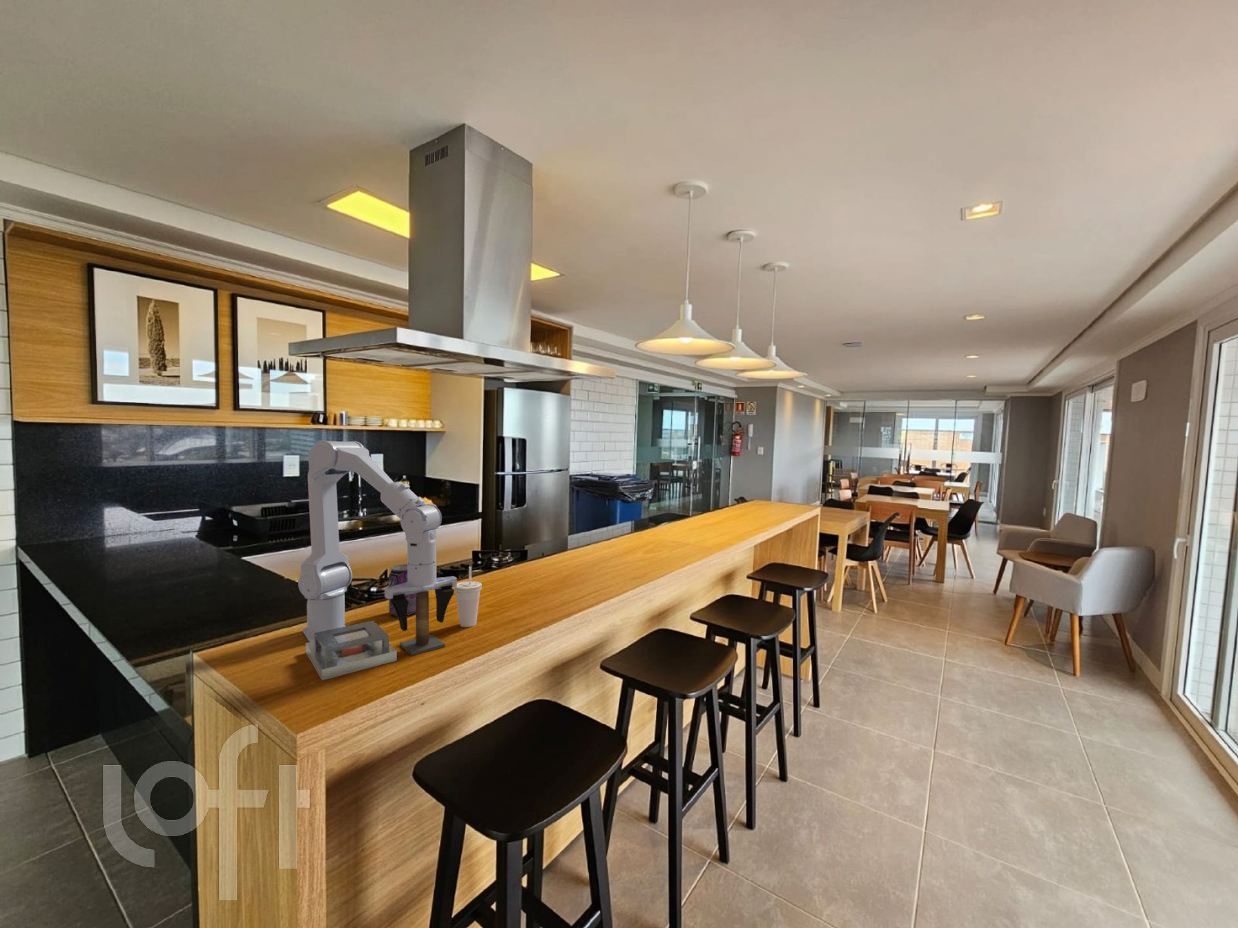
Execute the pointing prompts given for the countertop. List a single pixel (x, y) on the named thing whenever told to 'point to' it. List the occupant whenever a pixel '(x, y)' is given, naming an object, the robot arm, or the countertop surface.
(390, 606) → the beverage can
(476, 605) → the smoothie
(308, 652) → the box
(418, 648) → the rubber pad
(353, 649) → the breaker plunger
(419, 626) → the walnut dowel
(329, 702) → the countertop surface
